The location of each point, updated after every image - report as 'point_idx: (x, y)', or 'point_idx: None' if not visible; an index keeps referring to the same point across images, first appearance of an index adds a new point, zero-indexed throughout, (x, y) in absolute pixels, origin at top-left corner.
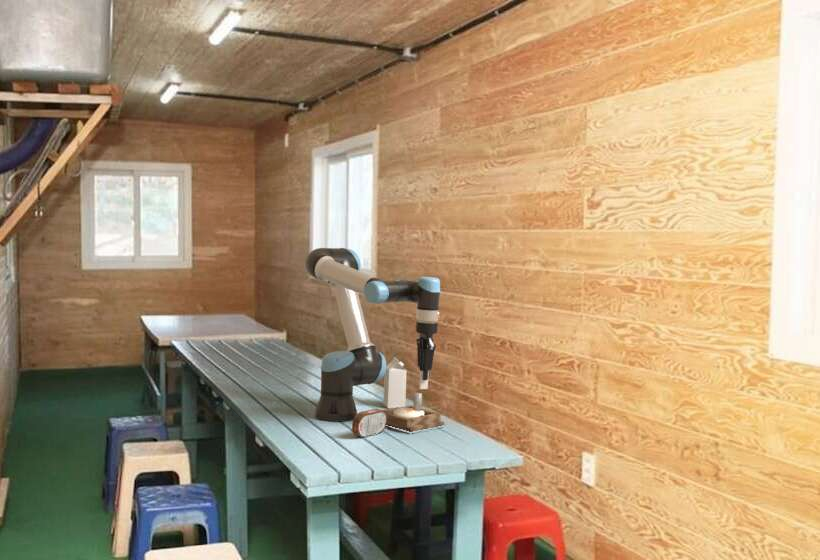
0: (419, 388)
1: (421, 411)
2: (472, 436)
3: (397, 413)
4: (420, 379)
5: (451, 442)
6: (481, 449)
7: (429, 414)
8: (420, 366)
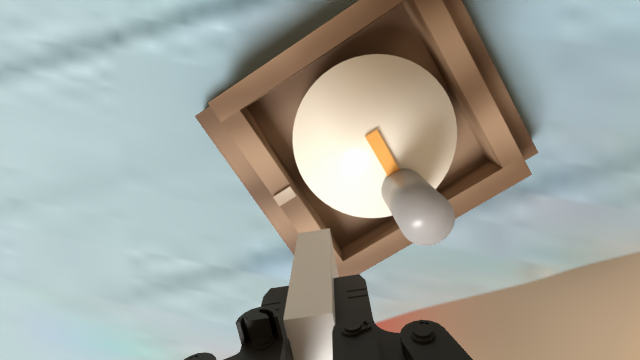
0: (318, 230)
1: (373, 205)
2: (182, 343)
3: (332, 70)
4: (304, 266)
5: (88, 254)
6: (6, 334)
7: (373, 238)
8: (335, 343)
